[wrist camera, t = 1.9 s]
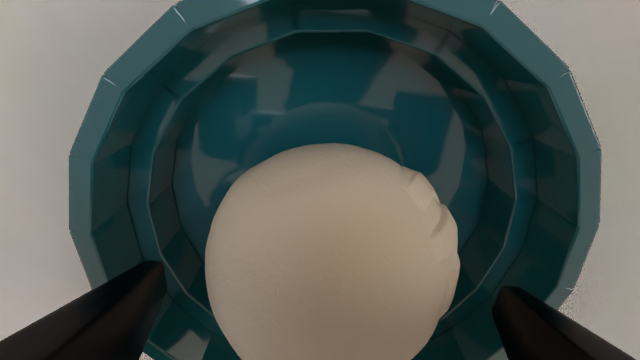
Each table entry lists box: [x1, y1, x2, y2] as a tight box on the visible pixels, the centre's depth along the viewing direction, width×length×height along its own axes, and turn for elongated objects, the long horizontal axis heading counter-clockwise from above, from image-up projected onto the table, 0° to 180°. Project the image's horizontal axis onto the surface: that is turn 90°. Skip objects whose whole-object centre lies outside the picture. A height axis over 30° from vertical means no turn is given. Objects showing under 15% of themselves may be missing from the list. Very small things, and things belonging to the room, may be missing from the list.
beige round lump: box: [205, 143, 460, 360], centre depth 10 cm, size 7×7×7 cm
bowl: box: [69, 0, 601, 360], centre depth 11 cm, size 15×15×4 cm
